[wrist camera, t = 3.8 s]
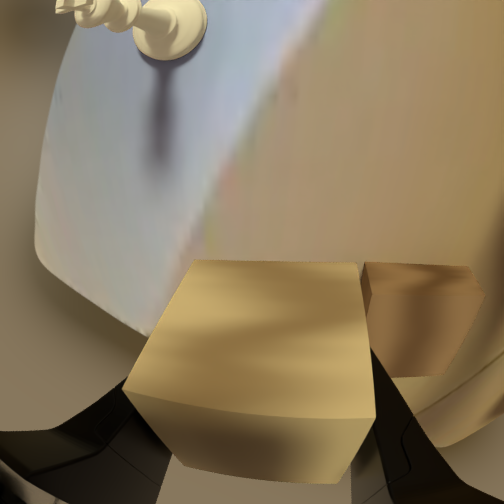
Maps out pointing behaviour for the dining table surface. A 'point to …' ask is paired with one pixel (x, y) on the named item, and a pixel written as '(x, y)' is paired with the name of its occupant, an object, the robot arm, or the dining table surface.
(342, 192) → the dining table surface
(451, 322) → the pedestal
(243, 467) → the oak cube
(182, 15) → the chess piece
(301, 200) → the dining table surface
